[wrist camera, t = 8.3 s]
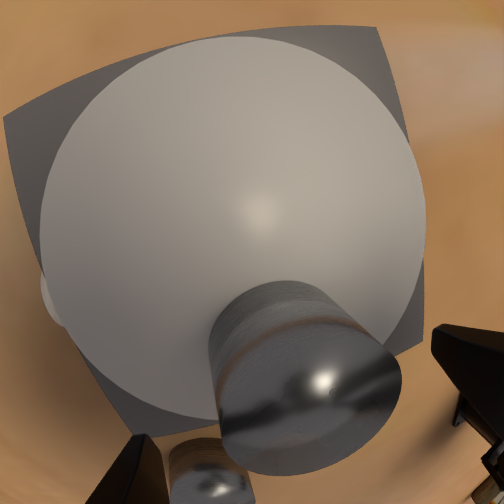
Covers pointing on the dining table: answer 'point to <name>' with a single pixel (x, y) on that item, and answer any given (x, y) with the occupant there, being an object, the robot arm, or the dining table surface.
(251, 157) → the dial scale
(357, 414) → the cylinder
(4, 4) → the dining table surface
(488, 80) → the dining table surface
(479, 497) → the stone weight
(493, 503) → the baking soda box
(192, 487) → the cylinder
